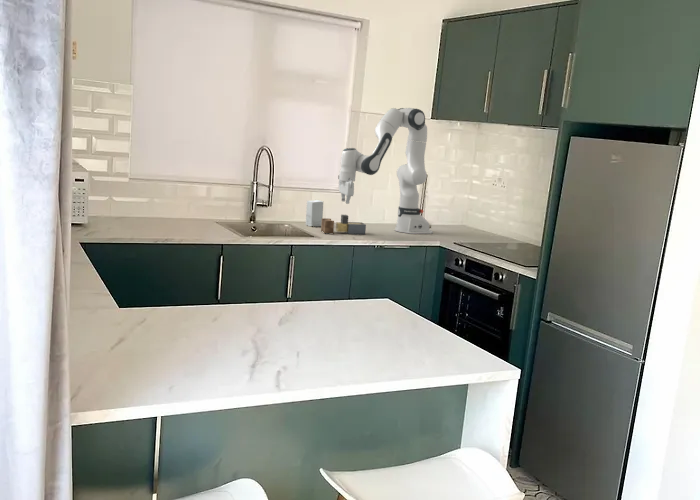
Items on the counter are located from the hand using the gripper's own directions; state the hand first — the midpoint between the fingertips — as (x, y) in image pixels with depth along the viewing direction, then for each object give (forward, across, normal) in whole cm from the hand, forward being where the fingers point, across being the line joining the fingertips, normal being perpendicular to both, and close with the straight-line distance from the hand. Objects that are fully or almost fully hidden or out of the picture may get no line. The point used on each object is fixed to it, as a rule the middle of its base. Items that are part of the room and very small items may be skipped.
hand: (345, 202), depth 394 cm
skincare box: (+18, +22, +12) cm, 31 cm away
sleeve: (+17, 0, -7) cm, 18 cm away
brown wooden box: (+17, 0, +9) cm, 20 cm away
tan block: (+17, 0, -4) cm, 17 cm away
